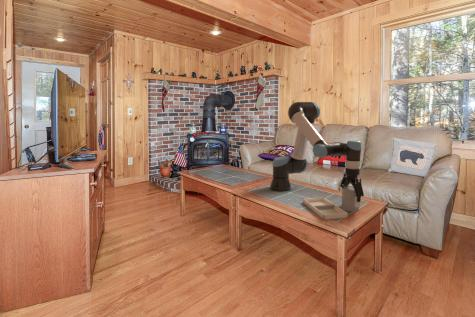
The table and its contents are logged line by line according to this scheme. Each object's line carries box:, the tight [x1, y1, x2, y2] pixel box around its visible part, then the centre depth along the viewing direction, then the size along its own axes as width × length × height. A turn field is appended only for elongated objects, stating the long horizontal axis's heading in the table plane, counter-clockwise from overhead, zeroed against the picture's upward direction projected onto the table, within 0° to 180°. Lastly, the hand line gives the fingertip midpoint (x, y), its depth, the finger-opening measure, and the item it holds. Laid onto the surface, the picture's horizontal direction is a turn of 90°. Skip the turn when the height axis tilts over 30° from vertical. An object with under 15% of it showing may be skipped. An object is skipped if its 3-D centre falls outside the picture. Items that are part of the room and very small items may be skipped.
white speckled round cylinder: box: [340, 185, 360, 212], centre depth 156 cm, size 10×10×12 cm
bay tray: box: [302, 197, 349, 220], centre depth 156 cm, size 27×14×2 cm, turn 9°
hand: (350, 203), depth 157 cm, fingers open, 13 cm apart
